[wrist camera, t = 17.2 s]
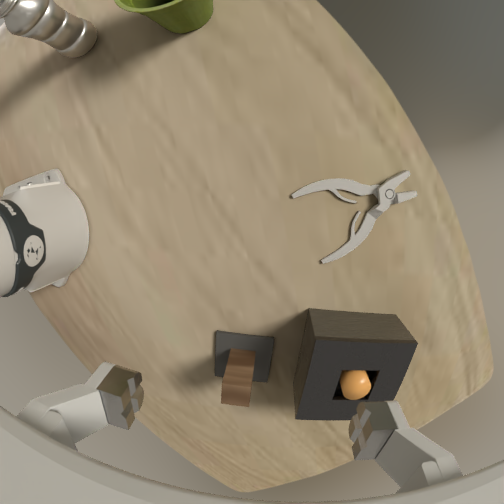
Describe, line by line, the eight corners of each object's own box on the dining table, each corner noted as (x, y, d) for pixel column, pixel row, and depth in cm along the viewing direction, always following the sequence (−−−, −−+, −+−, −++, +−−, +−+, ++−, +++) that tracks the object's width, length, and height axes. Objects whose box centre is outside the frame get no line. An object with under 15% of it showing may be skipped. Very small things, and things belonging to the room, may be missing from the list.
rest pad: (215, 373, 42) (214, 375, 41) (217, 330, 40) (216, 332, 39) (267, 380, 41) (267, 382, 41) (274, 337, 39) (274, 339, 39)
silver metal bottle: (82, 25, 29) (4, -19, 10) (109, 28, 30) (28, -26, 10) (63, 58, 31) (-24, 26, 12) (89, 64, 31) (-4, 24, 12)
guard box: (293, 382, 41) (295, 419, 34) (308, 308, 38) (316, 339, 30) (371, 384, 41) (384, 418, 33) (395, 314, 37) (417, 343, 30)
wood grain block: (231, 348, 40) (221, 383, 32) (255, 351, 40) (251, 387, 32) (229, 367, 41) (221, 403, 33) (253, 370, 41) (248, 407, 33)
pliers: (291, 193, 33) (399, 145, 31) (290, 192, 35) (394, 146, 32) (324, 267, 35) (425, 218, 32) (322, 263, 37) (420, 216, 34)
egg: (332, 371, 37) (339, 399, 31) (338, 351, 36) (347, 378, 30) (356, 372, 37) (366, 399, 31) (363, 351, 36) (374, 378, 30)
